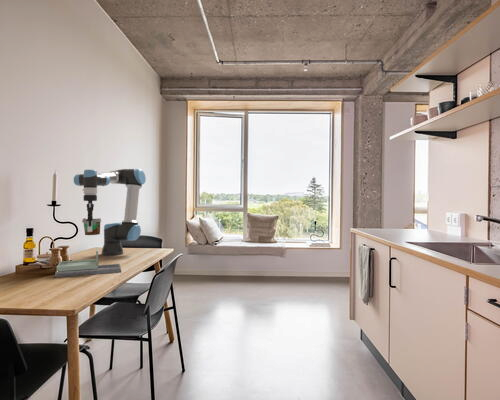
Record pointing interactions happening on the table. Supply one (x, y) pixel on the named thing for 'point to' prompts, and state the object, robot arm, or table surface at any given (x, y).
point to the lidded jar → (43, 257)
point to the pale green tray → (78, 264)
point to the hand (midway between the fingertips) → (90, 231)
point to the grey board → (90, 271)
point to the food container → (94, 226)
